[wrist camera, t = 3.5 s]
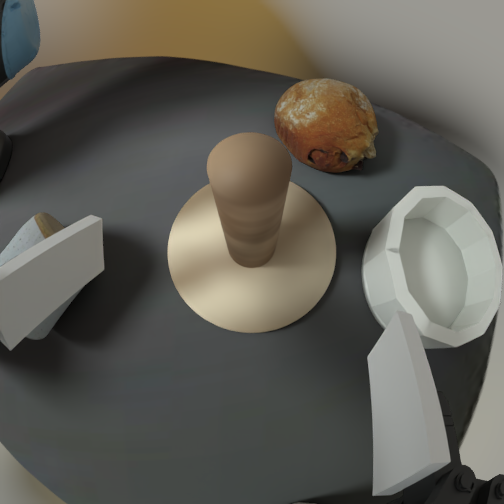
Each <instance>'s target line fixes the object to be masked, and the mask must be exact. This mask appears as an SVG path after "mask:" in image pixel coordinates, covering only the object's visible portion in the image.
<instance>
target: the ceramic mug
mask: <svg viewBox="0 0 504 504" xmlns="http://www.w3.org/2000/svg"><path fill="white" fill-rule="evenodd" d="M63 229H64V227H63V226H62V225H61V224H60V223H59V222H58V221H57V220H56V219H55V218H53V217H52V216H51V215H49V214H48V213H38V214H36V215H35V216H33V217H32V218H31V219H30V220H29V221H28V222H26V223H25V224H24V225H23V227H22V228H21V229H20V230H19V231H18V233H17V234H16V235H15V236H14V238H13V239H12V240H11V242H10V243H9V244H8V245H7V247H6V248H5V249H4V250H3V252H2V253H1V254H0V267H1V265H3V264H4V263H7V262H8V261H9V260H11V259H12V258H14V257H15V256H17V255H19V254H21V253H23V252H24V251H26V250H28V249H29V248H31V247H33V246H34V245H36V244H38V243H39V242H41V241H43V240H45V239H46V238H48V237H50V236H52V235H53V234H55V233H57V232H59V231H61V230H63ZM83 287H84V286H83ZM83 287H82V288H83ZM82 288H81V289H82ZM81 289H80V290H78V291H77V292H76V293H75V294H74V295H72V296H71V297H70V298H69V299H68V300H66V301H65V302H64V303H63V304H62V305H60V306H59V307H58V308H57V309H56V310H55V311H53V312H52V313H51V314H50V315H49V316H48V317H47V318H45V319H44V320H43V321H42V322H41V323H40V324H39V325H38V326H37V327H35V328H34V329H33V330H32V331H31V332H30V333H29V334H28V335H27V336H26V337H27V338H30V339H34V340H39V339H42V338H44V337H46V336H47V335H48V333H49V332H50V330H51V329H52V327H53V326H54V325H55V323H56V322H57V320H58V319H59V318H60V316H61V315H62V314H63V312H64V311H65V310H66V308H67V307H68V306H69V304H70V303H71V302H72V300H73V299H74V298H75V297H76V295H77V294H78V293H79V292H80V291H81Z"/></svg>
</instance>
